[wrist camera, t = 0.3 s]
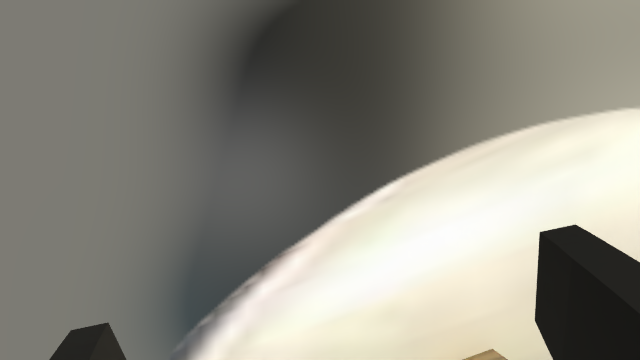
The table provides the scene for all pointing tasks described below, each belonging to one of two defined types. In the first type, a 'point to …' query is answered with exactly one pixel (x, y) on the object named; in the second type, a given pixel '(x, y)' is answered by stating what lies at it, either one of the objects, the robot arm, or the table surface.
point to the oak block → (487, 356)
